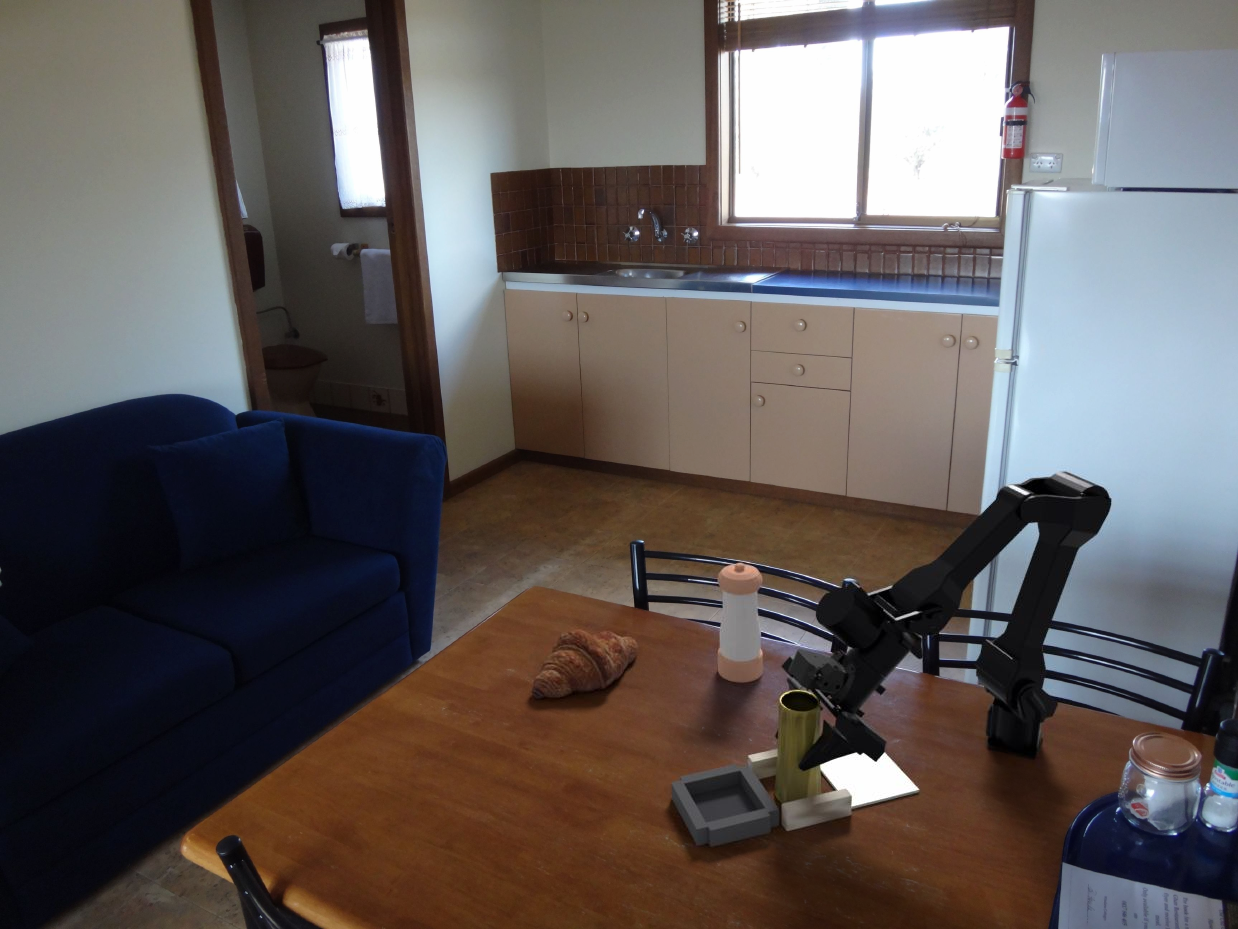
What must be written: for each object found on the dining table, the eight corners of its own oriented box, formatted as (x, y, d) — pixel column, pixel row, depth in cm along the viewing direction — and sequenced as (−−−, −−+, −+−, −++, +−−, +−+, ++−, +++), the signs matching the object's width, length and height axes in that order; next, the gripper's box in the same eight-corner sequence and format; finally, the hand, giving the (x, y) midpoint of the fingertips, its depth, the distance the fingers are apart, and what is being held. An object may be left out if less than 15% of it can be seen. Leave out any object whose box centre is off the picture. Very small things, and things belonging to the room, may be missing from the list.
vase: (821, 811, 122) (824, 716, 117) (773, 807, 123) (774, 712, 119) (821, 781, 128) (824, 689, 123) (775, 777, 129) (776, 686, 124)
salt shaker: (765, 682, 151) (766, 573, 145) (719, 683, 151) (718, 574, 145) (759, 658, 158) (760, 553, 152) (716, 659, 158) (714, 555, 152)
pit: (746, 777, 129) (746, 761, 128) (781, 829, 119) (781, 813, 118) (669, 794, 126) (669, 779, 126) (699, 850, 116) (698, 833, 115)
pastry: (552, 647, 165) (549, 606, 163) (640, 650, 163) (638, 608, 160) (531, 701, 149) (527, 656, 147) (627, 705, 147) (625, 660, 145)
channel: (807, 760, 132) (808, 742, 131) (851, 815, 121) (852, 795, 120) (747, 774, 130) (747, 755, 129) (786, 831, 119) (787, 811, 118)
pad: (878, 748, 134) (878, 746, 134) (919, 792, 125) (919, 789, 124) (814, 763, 131) (814, 761, 131) (850, 809, 122) (850, 806, 122)
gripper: (795, 600, 127) (720, 687, 128) (868, 668, 110) (780, 768, 111) (846, 641, 132) (773, 725, 133) (923, 713, 115) (838, 809, 116)
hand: (788, 753), depth 123 cm, fingers open, 6 cm apart
